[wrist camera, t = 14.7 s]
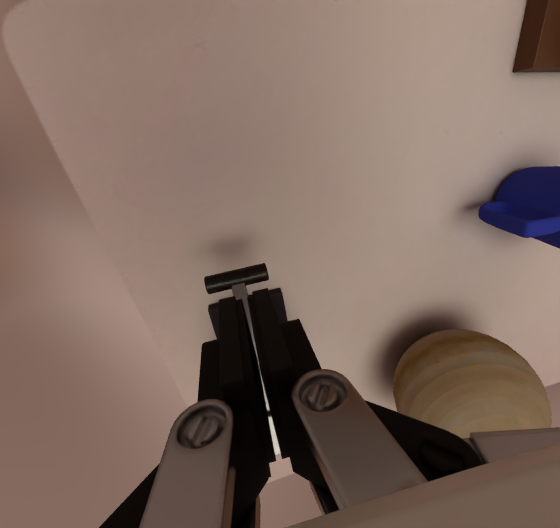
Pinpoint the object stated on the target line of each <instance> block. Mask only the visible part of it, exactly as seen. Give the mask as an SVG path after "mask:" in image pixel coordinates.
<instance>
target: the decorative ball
mask: <svg viewBox="0 0 560 528" xmlns="http://www.w3.org/2000/svg"><path fill="white" fill-rule="evenodd" d="M393 394H394V398H395V403H396V407H397V411H398V413H401V414H403V415H406V416H409V417H412V418H414V419H417V420H420V421H422V422H425V423H428V424H431V425H433V426H436V427H439V428H442V429H444V430H447V431H449V432H451V433H453V434H455V435H457V436H459V437H460V438H469V436H470V433H472V432H489V431H505V430H522V429H539V428H551V409H550V404H549V399H548V396H547V393H546V390H545V388H544V386H543V384H542V382H541V380H540V378H539V377H538V375H537V374H536V372H535V371H534V370H533V368H532V367H531V366H530V365H529V363H528V362H527V361H526V360H525V359H524V358H523V357H522V356H520V355H519V354H518V353H517V352H516V351H514V350H513V349H512V348H511V347H509V346H508V345H506V344H505V343H503V342H501V341H499V340H497V339H495V338H493V337H491V336H489V335H486V334H483V333H479V332H475V331H470V330H462V329H448V330H442V331H437V332H434V333H431V334H429V335H426V336H424V337H423V338H421V339H419V340H417V341H416V342H415V343H413V344H412V345H411V346H410V347H409V348H408V349H407V350H406V351H405V353H404V354H403V355H402V357H401V359H400V361H399V363H398V365H397V368H396V371H395V375H394V391H393Z"/></svg>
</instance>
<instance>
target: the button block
mask: <svg viewBox="0 0 560 528" xmlns="http://www.w3.org/2000/svg"><path fill="white" fill-rule="evenodd" d="M513 72H560V0H528V2H527V6H526V11H525V16H524V21H523V25H522V30H521V35H520V40H519V45H518V49H517V54H516V59H515V64H514V68H513Z"/></svg>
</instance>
